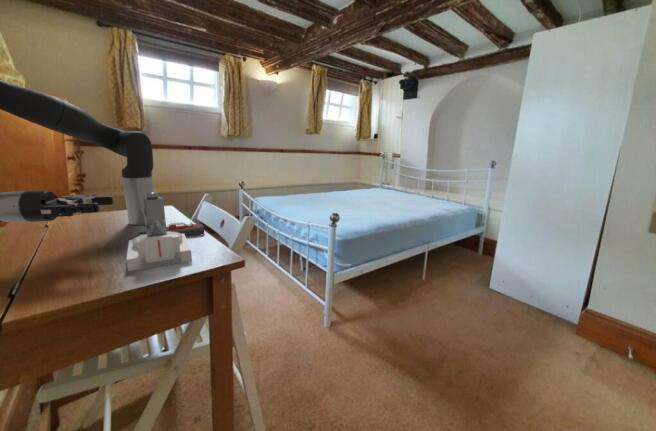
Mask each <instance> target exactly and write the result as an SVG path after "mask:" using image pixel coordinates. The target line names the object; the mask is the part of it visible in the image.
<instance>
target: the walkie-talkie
mask: <svg viewBox="0 0 656 431" xmlns="http://www.w3.org/2000/svg"><path fill="white" fill-rule="evenodd" d="M205 229H206V226H205V225H203V224H202V223H193V222H192V221H191V222H190V223H188V224H187V223H185V222H173V223H169V224H168V226H166V230H167V232H178V233H181V234H185V237H186V238H189V236H190V237H195V236H194V235H198V236H202V235H201V234H204V235H205ZM145 234H147V233H146V230H143V231H139V232H138V235H139V236H141V235H145ZM187 236H188V237H187Z"/></svg>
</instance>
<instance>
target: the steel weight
mask: <svg viewBox="0 0 656 431" xmlns="http://www.w3.org/2000/svg"><path fill="white" fill-rule="evenodd" d="M142 201H143V209H144V217H145V225H144V226H145V231H146V233H147V237H154V236H162V235H167V230H166V227H167V221H166V214H165V204H164V197H161V196H159V192H158V191H154V192H148V193H147V198H144V199H142Z"/></svg>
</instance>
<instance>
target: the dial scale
mask: <svg viewBox="0 0 656 431" xmlns="http://www.w3.org/2000/svg"><path fill="white" fill-rule="evenodd" d="M126 253H127V254H126V266H127V267H126V268H127V272H132V271H138V270H144V269H145V270H146V269H150V268H156V267H162V266H169V265H173V264H181V263H187V262H192V261H193V260H192V258H193V257H192V249H191V247H190V244H189V242H188V239H187V237H185V234H181V233H178V232H167V235H162V236H154V237H147V234H143V235H139V236H136V237H134V238H133V239H129V240H128V246H127V252H126Z"/></svg>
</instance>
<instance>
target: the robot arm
mask: <svg viewBox="0 0 656 431" xmlns="http://www.w3.org/2000/svg"><path fill="white" fill-rule="evenodd" d="M0 110H1V111H4V112H6V113H8V114H11V115H13V116H14V117H18V118H20V119H22V120H25V121H28V122H30V123H33V124H36V125H38V126H40V127H43V128H46V129H48V130H51V131H54V132H57V133H58V134H62V135H65V136H68V137H72V138H76V139H78V140H81V141H84V142H87V143H88V142H89V143H93V144H95V145H97V146H99V147H101V148H105V149H107V150H109V151H111V152H113V153H115V154H117V155H119V156H122V157H125V158H126V166H125V167H123V168H121V179H122V184H123V191H124V199H125V204H126V205H125V207H126V212H127V213H126V214H127V218H128V219H127V220H128V224H129V225H132V226H143V225H144V226H146V225H145V217H144V209H143V201H142V199H144V198H147V193H148V192H155V189H154V183H153V170H154V154H153V144H152V141H151V140H150V137H149V136H148V135H147V134H145V133H143V132H141V131H138V130H137V131H136V130H135V131H134V130H133V131H132V130H122V129H119V128H114V127H112V126H109V125H107V124H105V123H102V122H100V121H99V120H97V119H96V118H95V117H93V116H92V115H91V114H90V113H88V112H87V111H85V110H83V109H82V108H81V107H79V106H77V105H74V104H73V103H70V102H69V101H65V100H64V99H61V98H59V97H56V96H54V95H51V94H48V93H45V92H42V91H39V90H38V91H37V90H34V89H30V88H28V87H23V86H19V85H16V84H13V83H10V82H7V81H4V80H1V79H0ZM88 200H91V201H88ZM114 203H115V202H114V197H113V196H109V195H108V196H98V195H97V194H83V195H81V194H77V195H66V196H65V195H64V196H61V197H58V196H57V194H56V193H54V192H53V191H51V190H22V191H21V190H18V191H17V190H15V191H7V192H0V223H35V222H36V223H37V222H38V223H39V222H51V221H52V222H53V221H54V220H56V219H57V218H58V217H61V218H63V217H69V218H70V217H72V216H74V215H75V216H76V215H80V214H86V213H91V214H92V213H98V212H100V211H101V210H100V206H111V205H113V204H114Z"/></svg>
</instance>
